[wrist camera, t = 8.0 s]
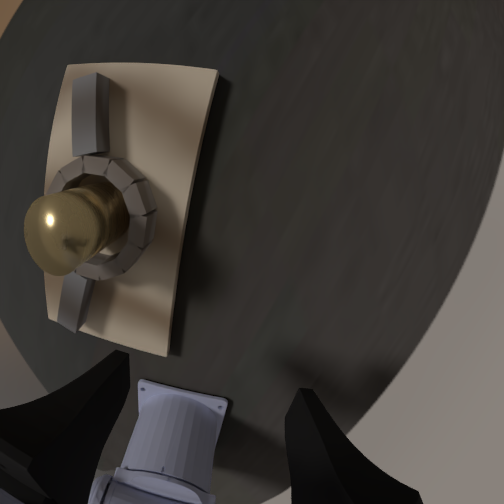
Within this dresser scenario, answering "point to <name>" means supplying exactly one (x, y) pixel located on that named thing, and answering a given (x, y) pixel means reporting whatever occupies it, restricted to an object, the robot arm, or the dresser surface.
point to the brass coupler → (74, 226)
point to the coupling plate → (171, 167)
